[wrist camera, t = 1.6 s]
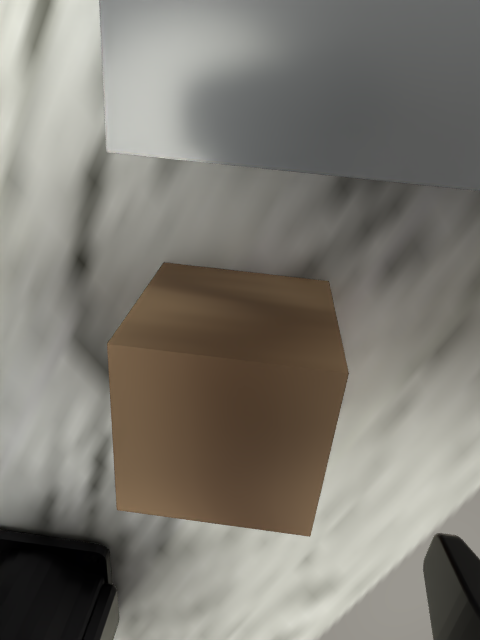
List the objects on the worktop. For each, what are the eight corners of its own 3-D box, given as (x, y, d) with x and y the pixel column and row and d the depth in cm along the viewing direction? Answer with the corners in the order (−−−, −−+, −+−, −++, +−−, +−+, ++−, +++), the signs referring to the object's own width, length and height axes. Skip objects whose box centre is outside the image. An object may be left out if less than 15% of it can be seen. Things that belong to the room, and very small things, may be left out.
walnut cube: (163, 393, 16) (117, 510, 12) (164, 261, 14) (107, 343, 9) (303, 411, 16) (310, 536, 12) (328, 280, 14) (348, 373, 9)
